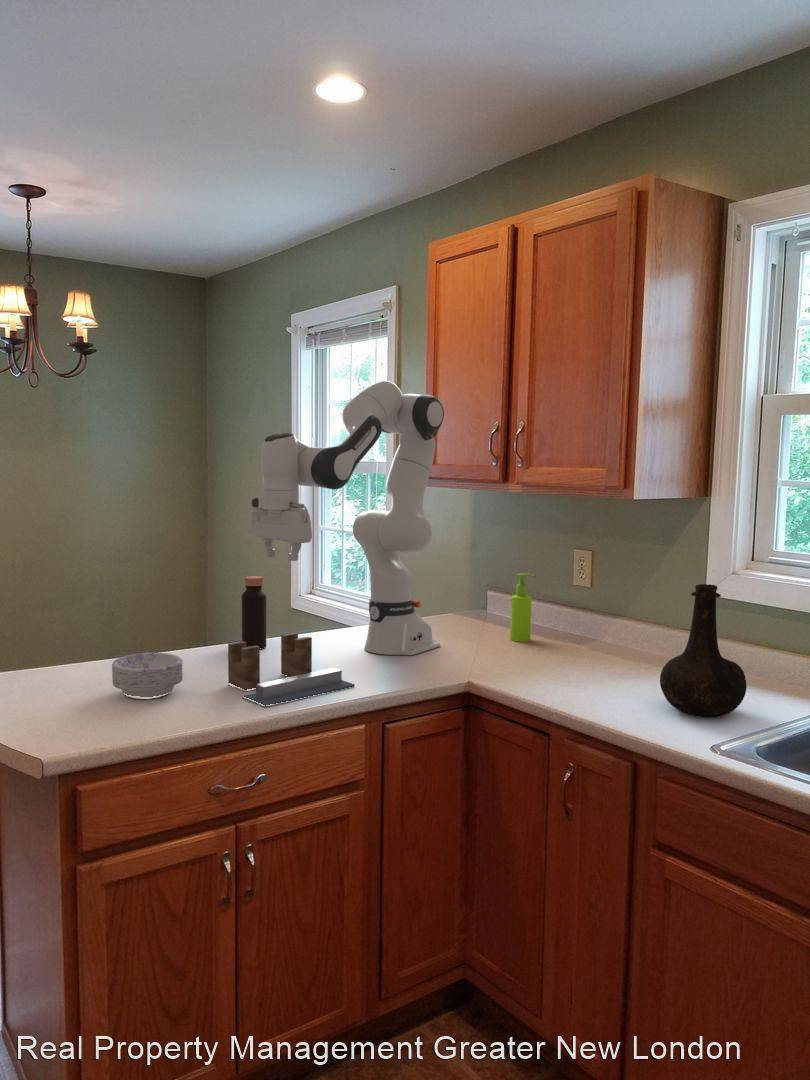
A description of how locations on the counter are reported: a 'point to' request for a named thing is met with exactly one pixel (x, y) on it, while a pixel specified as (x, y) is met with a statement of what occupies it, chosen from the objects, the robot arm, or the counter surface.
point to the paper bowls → (147, 673)
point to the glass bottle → (703, 666)
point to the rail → (298, 683)
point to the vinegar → (254, 612)
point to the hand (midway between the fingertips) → (281, 558)
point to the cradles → (248, 660)
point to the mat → (301, 693)
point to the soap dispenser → (521, 611)
